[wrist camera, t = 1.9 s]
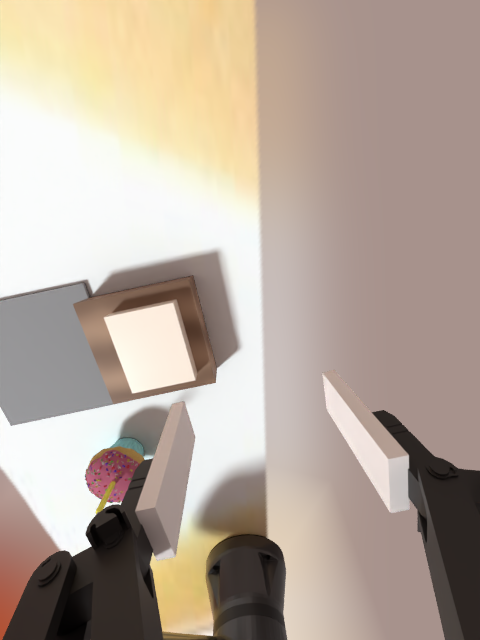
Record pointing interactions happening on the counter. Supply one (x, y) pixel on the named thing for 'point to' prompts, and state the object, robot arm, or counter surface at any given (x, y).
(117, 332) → the cream rectangular block
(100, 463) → the cupcake
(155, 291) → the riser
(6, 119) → the counter surface
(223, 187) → the counter surface
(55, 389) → the mat
